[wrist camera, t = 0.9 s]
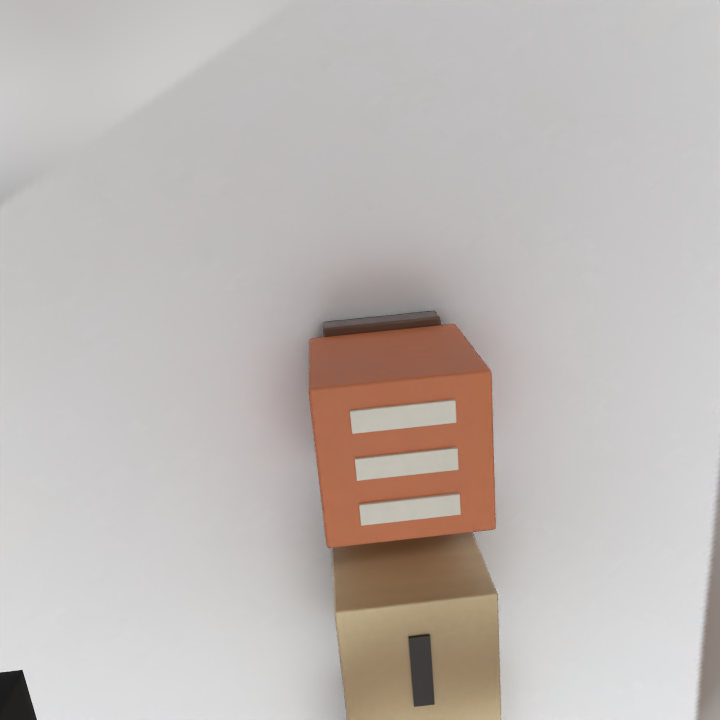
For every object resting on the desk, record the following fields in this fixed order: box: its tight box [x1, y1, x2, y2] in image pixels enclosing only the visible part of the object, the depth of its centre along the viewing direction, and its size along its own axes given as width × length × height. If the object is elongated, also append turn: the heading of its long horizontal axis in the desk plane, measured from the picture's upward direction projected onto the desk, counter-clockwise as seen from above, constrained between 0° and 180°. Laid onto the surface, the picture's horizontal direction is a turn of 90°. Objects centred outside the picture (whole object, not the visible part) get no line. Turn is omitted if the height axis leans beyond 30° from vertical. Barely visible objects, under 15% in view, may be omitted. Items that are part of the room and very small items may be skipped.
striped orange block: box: [309, 324, 496, 548], centre depth 19 cm, size 4×4×5 cm
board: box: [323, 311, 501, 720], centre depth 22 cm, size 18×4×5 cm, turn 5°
